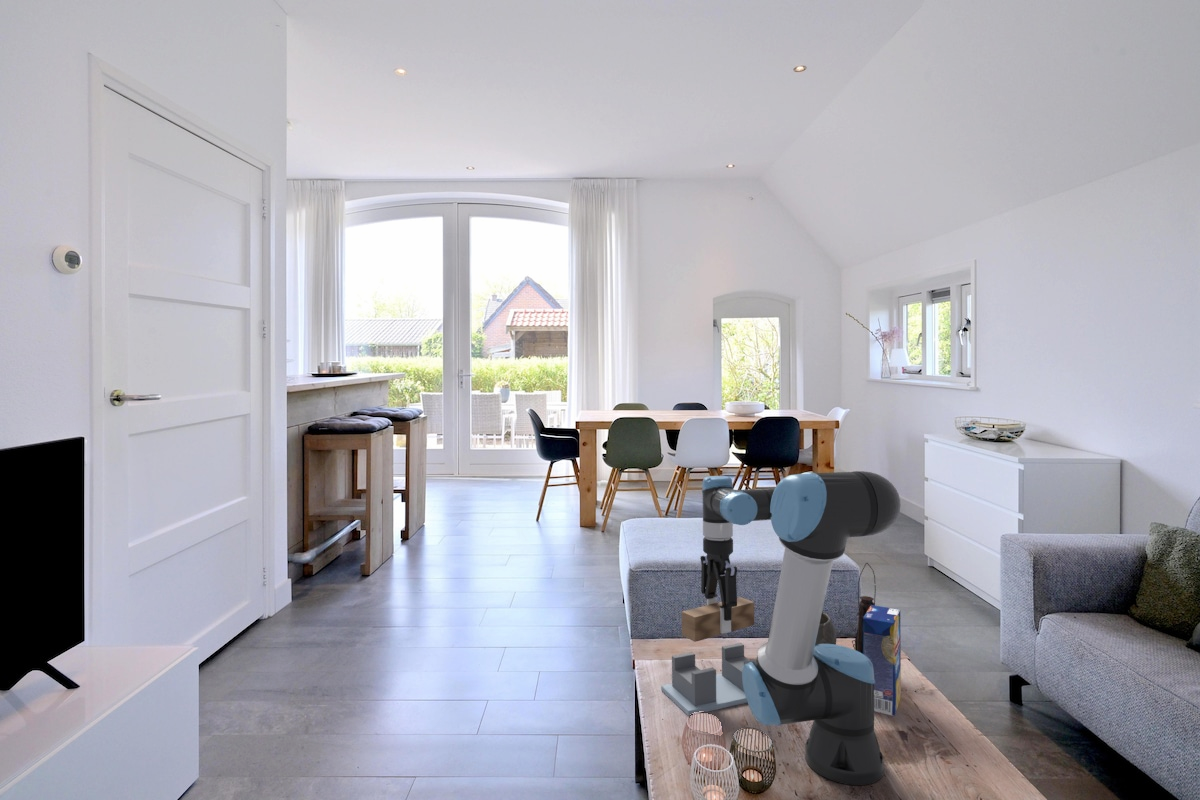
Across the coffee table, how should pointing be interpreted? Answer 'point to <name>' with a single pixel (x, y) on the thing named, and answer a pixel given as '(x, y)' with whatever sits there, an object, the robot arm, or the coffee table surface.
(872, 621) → the beverage box
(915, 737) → the coffee table surface
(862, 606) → the lantern
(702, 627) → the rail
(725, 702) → the bracket
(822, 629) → the bowl
